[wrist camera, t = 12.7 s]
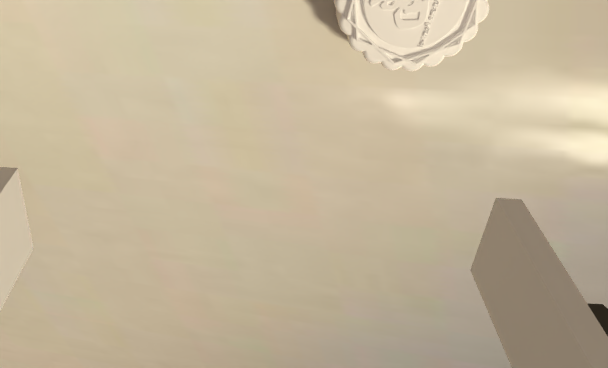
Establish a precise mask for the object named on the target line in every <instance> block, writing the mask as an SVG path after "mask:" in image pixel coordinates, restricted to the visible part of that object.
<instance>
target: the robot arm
mask: <svg viewBox="0 0 608 368" xmlns="http://www.w3.org/2000/svg"><path fill="white" fill-rule="evenodd" d="M33 249H34V248H33V242H32V237H31V232H30V227H29V222H28V217H27V212H26V207H25V202H24V197H23V192H22V187H21V182H20V177H19V172H18V168H7V167H0V311H1V309H2V307H3V305H4V303H5V301H6V299H7V298H8V296H9V294H10V292H11V290H12V288H13V286H14V285H15V283H16V281H17V279H18V277H19V275H20V273H21V271H22V270H23V268H24V266H25V264H26V262H27V260H28V258H29V256H30V255H31V253H32V251H33ZM471 273H472V275H473V277H474V280H475V282H476V284H477V287H478V289H479V291H480V294H481V296H482V298H483V301H484V303H485V306H486V308H487V310H488V313H489V315H490V317H491V320H492V322H493V324H494V327H495V329H496V331H497V334H498V336H499V338H500V341H501V343H502V346H503V348H504V350H505V353H506V355H507V357H508V360H509V362H510V364H511V367H512V368H608V309H607V308H606V307H605V306H604V305H603V304H587V303H586V301H585V300H584V298H583V296H582V295H581V293H580V292H579V290H578V288H577V287H576V285H575V284H574V282H573V281H572V279H571V277H570V276H569V274H568V273H567V271H566V269H565V268H564V266H563V265H562V263H561V261H560V260H559V258H558V257H557V255H556V253H555V252H554V250H553V249H552V247H551V246H550V244H549V242H548V241H547V239H546V238H545V236H544V234H543V233H542V231H541V230H540V228H539V226H538V225H537V223H536V222H535V220H534V219H533V217H532V215H531V214H530V212H529V211H528V209H527V207H526V206H525V204H524V203H523V201H522V200H521V199H505V198H496V199H495V202H494V205H493V208H492V211H491V213H490V216H489V219H488V222H487V225H486V228H485V230H484V233H483V236H482V239H481V242H480V245H479V247H478V250H477V253H476V256H475V259H474V262H473V264H472V267H471Z"/></svg>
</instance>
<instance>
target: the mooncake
mask: <svg viewBox="0 0 608 368" xmlns="http://www.w3.org/2000/svg"><path fill="white" fill-rule="evenodd" d="M333 1H334V5H335V8H336V17H337V20H338V24H339V27H340V29H341V30H342V32H344V33H345V34H346V35H347V38H348V41H349V44H350V46H351V47H352V48H353V49H354V50H356V51H362V53H363V55H364V57H365V59H366V60H367V61H368V62H371V63H380V62H381V64H382V65H383V66H384V67H385V68H386V69H389V70H396V69H399V68H400V67H402V68H404V69H405V70H407V71H415V70H418V69H419V68H421V67H422V66H423V65H425V66H436V65H438V64H439V63H440V62H441V61H442V60H443V58H444V56H447V57H449V56H453V55H455V54H457V53H458V52H459V51H460V50H461V48H462V46H463V42H466V41H469V40H471V39H472V38H473V37H474V36H475V35H476V33H477V31H478V23H479V22H481V21H483V20H484V19H485V18H486V16H487V14H488V12H489V4H488V2H487V0H333Z"/></svg>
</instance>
